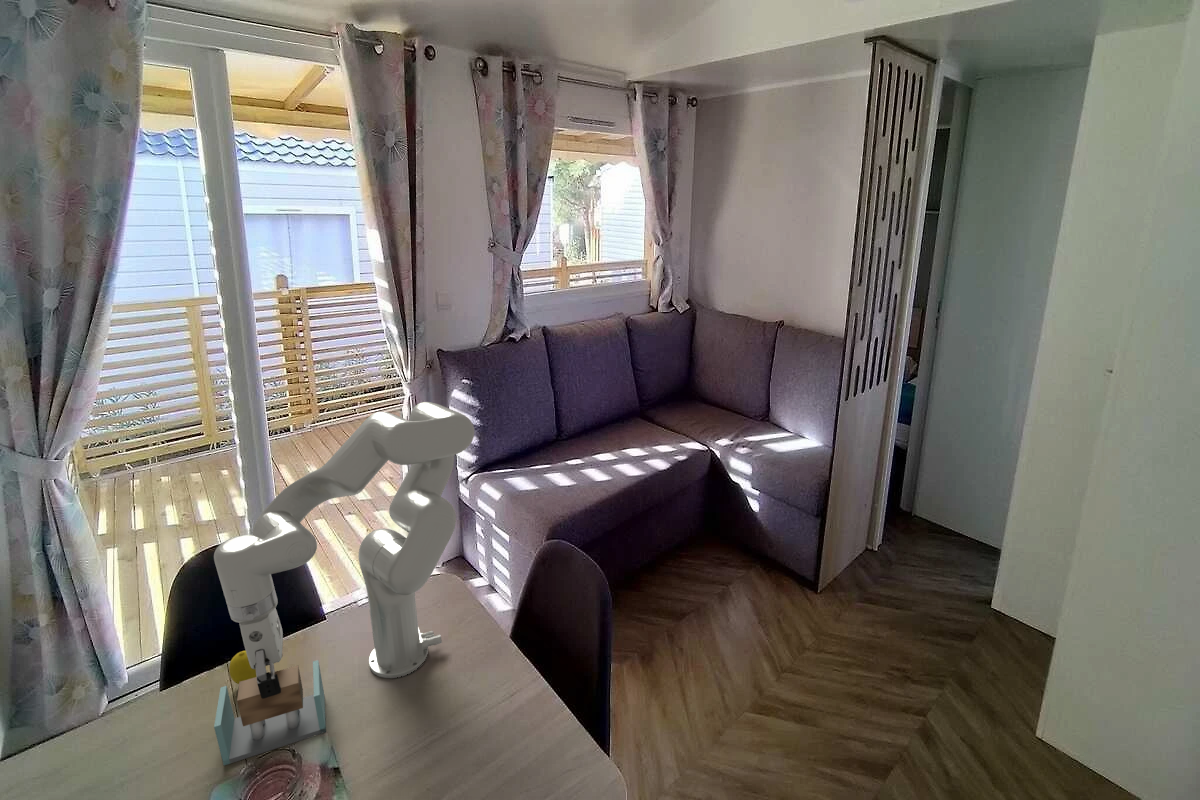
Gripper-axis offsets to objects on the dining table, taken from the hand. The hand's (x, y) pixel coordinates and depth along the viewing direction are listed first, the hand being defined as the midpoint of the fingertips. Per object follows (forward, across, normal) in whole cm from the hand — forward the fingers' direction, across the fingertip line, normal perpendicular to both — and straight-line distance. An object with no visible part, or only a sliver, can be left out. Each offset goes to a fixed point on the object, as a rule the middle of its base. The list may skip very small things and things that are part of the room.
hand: (272, 676), depth 112 cm
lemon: (+12, +15, +7) cm, 21 cm away
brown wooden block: (+7, 0, +1) cm, 7 cm away
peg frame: (+12, 0, +1) cm, 12 cm away
